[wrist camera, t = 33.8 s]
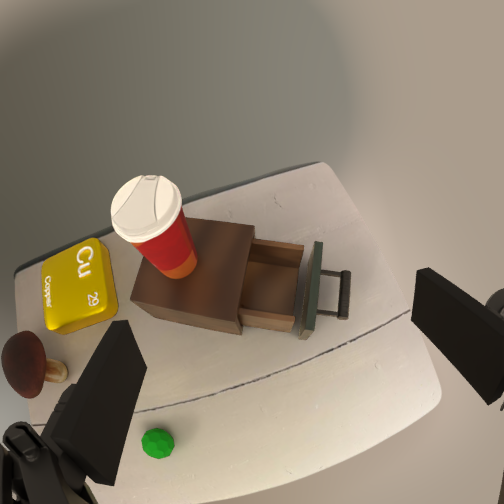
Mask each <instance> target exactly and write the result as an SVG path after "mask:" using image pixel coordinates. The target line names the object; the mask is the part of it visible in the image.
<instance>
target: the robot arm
mask: <svg viewBox="0 0 504 504" xmlns="http://www.w3.org/2000/svg"><path fill="white" fill-rule="evenodd" d="M411 321H412V322H413V323H414V324H415V325H416V326H417V327H418V328H419V329H420V330H421V331H422V332H423V333H424V334H425V335H426V336H427V337H428V338H429V339H430V340H431V342H432V343H433V344H434V345H435V346H436V347H437V348H438V349H439V350H440V351H441V352H442V353H443V354H444V356H446V358H447V359H448V360H449V361H450V362H451V363H452V364H453V365H454V366H455V367H456V369H457V370H458V371H459V372H460V373H461V374H462V376H463V377H464V378H465V379H466V380H467V381H468V382H469V384H470V385H471V386H472V387H473V388H474V389H475V390H476V392H477V393H478V394H479V395H480V396H481V397H482V399H483V400H484V401H485V402H486V403H487V405H490V404H492V403H493V402H495V401H496V400H497V399H498V398H500V397H501V396H502V393H503V392H504V306H503V307H502V308H501V309H500V311H499V313H498V312H497V311H495V310H493V309H490V308H488V307H485V306H484V305H482V304H481V303H480V302H478V301H477V300H475V299H474V298H472V297H471V296H470V295H469V294H467V293H466V292H464V291H463V290H462V289H460V288H459V287H457V286H456V285H454V284H453V283H451V282H450V281H448V280H447V279H446V278H444V277H443V276H441V275H439V274H438V273H436V272H435V271H434V270H432V269H431V268H429V267H428V268H424V269H420V270H417V274H416V284H415V293H414V301H413V309H412V316H411ZM146 370H147V366H146V364H145V362H144V359H143V357H142V355H141V352H140V350H139V347H138V345H137V343H136V340H135V338H134V335H133V333H132V330H131V327H130V325H129V322H128V320H120V321H113V322H112V323H111V325H110V326H109V328H108V330H107V331H106V333H105V335H104V336H103V338H102V340H101V341H100V343H99V345H98V346H97V348H96V350H95V352H94V353H93V355H92V357H91V359H90V360H89V362H88V364H87V366H86V367H85V369H84V371H83V373H82V375H81V376H80V378H79V380H78V382H77V384H71V385H70V386H69V387H68V388H67V389H66V390H65V391H64V392H63V393H62V395H61V397H60V399H59V401H58V404H56V406H55V408H54V411H53V412H52V414H51V416H50V418H49V420H48V422H47V424H46V426H45V428H44V430H43V432H42V434H41V436H39V435H38V434H37V433H36V431H35V430H34V429H33V428H32V427H31V425H30V424H28V423H27V422H16V423H14V424H12V425H11V426H9V428H8V429H7V430H6V431H5V433H4V435H3V443H4V444H5V446H6V447H7V448H8V449H9V450H10V451H7V450H6V449H5V448H4V447H3V446H2V445H1V444H0V504H98V502H97V501H96V499H95V497H94V495H93V493H92V491H91V489H90V488H89V486H88V485H87V484H86V482H85V479H86V475H87V476H88V477H89V478H91V479H92V480H93V481H94V482H95V483H98V484H104V485H109V486H114V484H115V480H116V475H117V471H118V467H119V463H120V459H121V455H122V452H123V448H124V444H125V440H126V437H127V433H128V430H129V426H130V423H131V419H132V416H133V412H134V409H135V405H136V402H137V399H138V396H139V392H140V389H141V386H142V383H143V380H144V376H145V373H146ZM503 409H504V402H503V404H502V406H501V409H500V411H502V410H503ZM12 492H13V493H15V494H16V495H17V499H16V500H14V499H13V498H12ZM498 504H504V472H503V479H502V485H501V490H500V495H499V500H498Z"/></svg>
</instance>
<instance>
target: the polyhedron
mask: <svg viewBox="0 0 504 504" xmlns="http://www.w3.org/2000/svg"><path fill="white" fill-rule="evenodd" d="M141 441H142V446H143V450H144V451H145V452H146V453H147V454H148V455H149V456H151V457H154V458H157V459H160V458H164V457H167V456H169V455H170V454H171V452H172V450H173V448H174V441H173V438H172V437H171V436H170V435H169V434H168V433H167V432H166V431H164V430H162V429H158V428H156V429H151V430H148V431H146V433H145V434H144V436H143V438H142V440H141Z"/></svg>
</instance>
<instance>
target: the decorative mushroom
mask: <svg viewBox="0 0 504 504" xmlns="http://www.w3.org/2000/svg"><path fill="white" fill-rule="evenodd" d="M1 359H2V367H3V371H4V374H5V377H6V379H7V381H8V383H9V384H10V385H11V387H12V388H13V389H14V390H15V391H16V392H17V393H18V394H20V395H21V396H22V397H24V398H30V399H31V398H34V397H36V396H38V395H39V394H40V392H41V390H42V388H43V383H44V380H45V381H49V382H54V383H61V382H63V381H64V380H65V379H66V378H67V373H68V371H67V368H66V366H65V365H64V364H63V363H62V362H60V361H57V360H54V359H48V358H46V354H45V350H44V347H43V344H42V343H41V341H40V339H39V338H38V337H37V336H36V335H35V334H34V333H32V332H30V331H22V332H20V333H17V334H15V335H14V336H12V337H11V338H10V339H9V340H8V341H7V342H6V344H5V346H4V348H3V351H2V356H1Z"/></svg>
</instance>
